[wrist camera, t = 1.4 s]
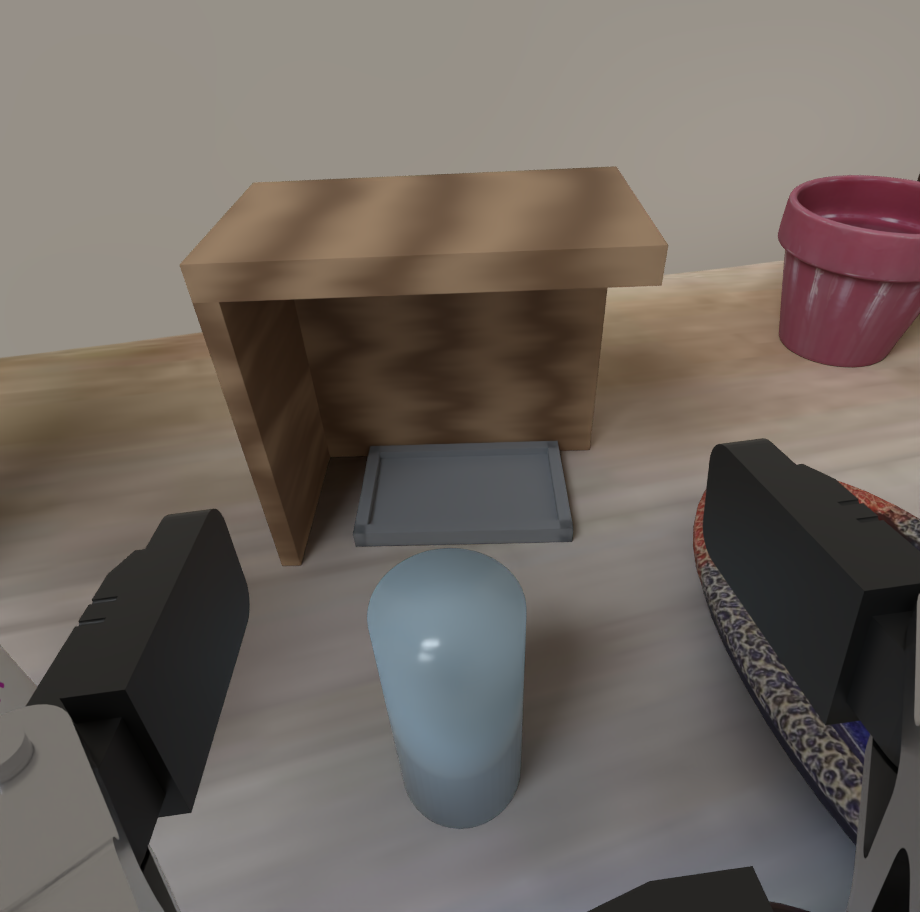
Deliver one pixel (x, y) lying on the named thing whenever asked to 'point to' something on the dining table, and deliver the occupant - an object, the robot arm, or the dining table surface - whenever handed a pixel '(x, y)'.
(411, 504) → the tray
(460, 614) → the tall pale blue cylinder
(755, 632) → the dish
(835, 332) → the plant pot
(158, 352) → the dining table surface
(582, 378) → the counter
